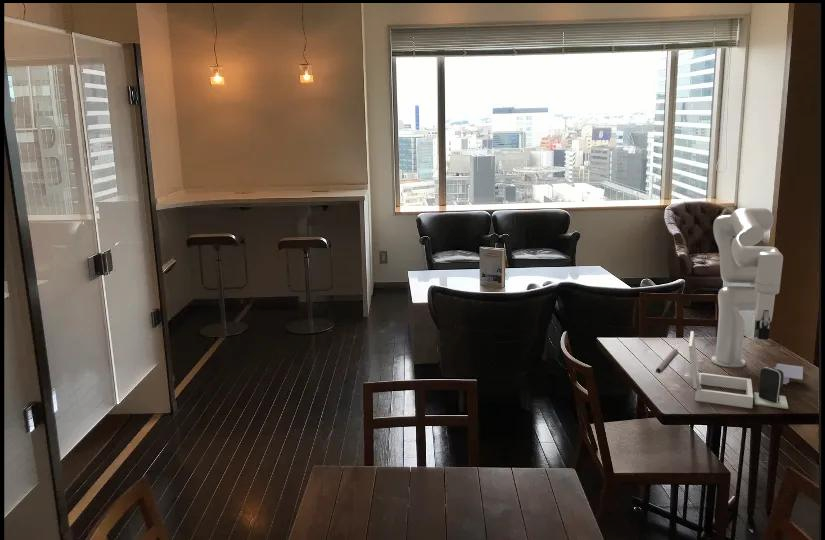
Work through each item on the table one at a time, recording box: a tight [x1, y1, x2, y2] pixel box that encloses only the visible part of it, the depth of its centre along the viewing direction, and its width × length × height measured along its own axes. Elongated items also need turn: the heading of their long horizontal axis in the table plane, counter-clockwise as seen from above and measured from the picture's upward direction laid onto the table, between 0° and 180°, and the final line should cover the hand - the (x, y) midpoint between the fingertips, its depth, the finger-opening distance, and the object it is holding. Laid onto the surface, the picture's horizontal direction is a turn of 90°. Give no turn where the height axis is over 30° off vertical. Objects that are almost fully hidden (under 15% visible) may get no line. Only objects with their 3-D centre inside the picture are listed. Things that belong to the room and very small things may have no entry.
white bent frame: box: [688, 330, 754, 409], centre depth 237 cm, size 18×21×20 cm
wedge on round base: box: [775, 363, 804, 385], centre depth 249 cm, size 9×7×13 cm
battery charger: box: [758, 366, 784, 403], centre depth 231 cm, size 7×4×11 cm, turn 29°
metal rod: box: [655, 348, 679, 373], centre depth 272 cm, size 2×27×2 cm, turn 146°
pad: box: [753, 391, 789, 409], centre depth 232 cm, size 10×10×1 cm
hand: (761, 334), depth 233 cm, fingers open, 9 cm apart
